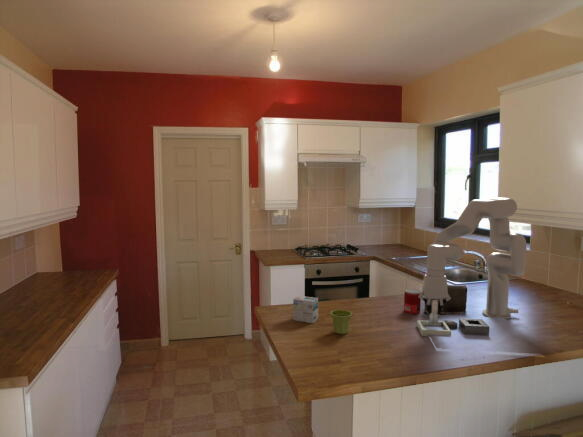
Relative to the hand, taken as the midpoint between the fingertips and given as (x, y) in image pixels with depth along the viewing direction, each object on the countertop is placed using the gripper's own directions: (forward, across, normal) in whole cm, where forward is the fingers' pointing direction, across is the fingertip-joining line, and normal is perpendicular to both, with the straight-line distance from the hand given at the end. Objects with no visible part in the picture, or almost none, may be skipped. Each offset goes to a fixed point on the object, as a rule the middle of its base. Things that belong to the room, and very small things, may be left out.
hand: (433, 312), depth 178 cm
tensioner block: (+9, -17, 0) cm, 19 cm away
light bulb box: (+9, +58, -7) cm, 59 cm away
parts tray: (+9, 0, 0) cm, 9 cm away
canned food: (+9, +5, -26) cm, 28 cm away
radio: (+9, -12, -29) cm, 32 cm away
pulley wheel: (+9, -8, -5) cm, 13 cm away
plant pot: (+9, +41, +6) cm, 42 cm away
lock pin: (+5, 0, 0) cm, 5 cm away
